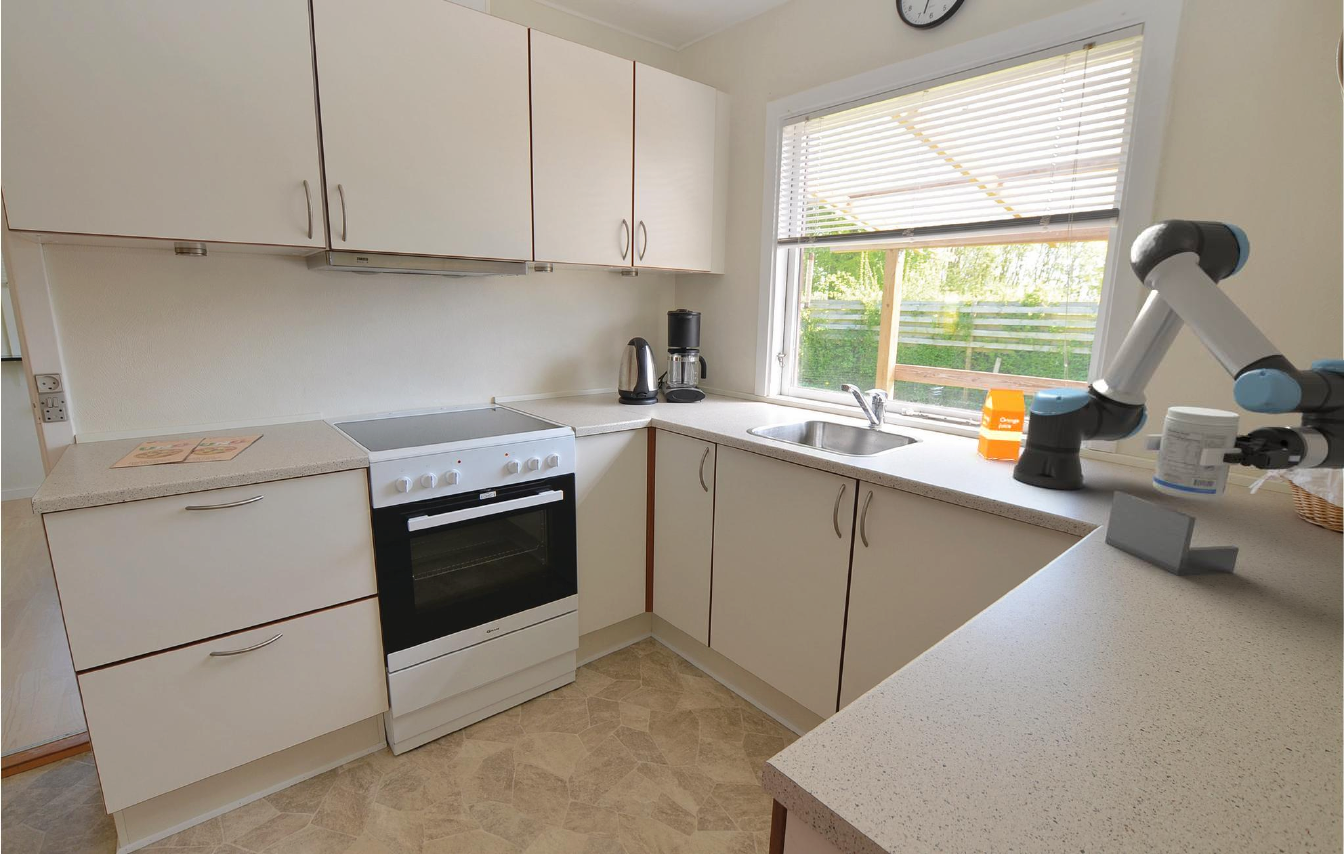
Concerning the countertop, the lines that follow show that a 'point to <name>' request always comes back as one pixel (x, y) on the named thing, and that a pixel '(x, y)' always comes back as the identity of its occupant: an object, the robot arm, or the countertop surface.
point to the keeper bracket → (1163, 538)
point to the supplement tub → (1194, 452)
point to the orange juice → (1002, 424)
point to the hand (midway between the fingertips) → (1173, 449)
